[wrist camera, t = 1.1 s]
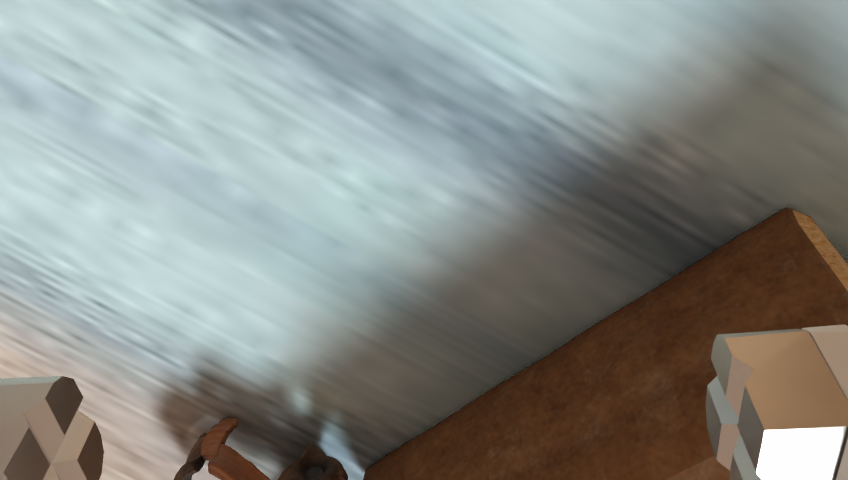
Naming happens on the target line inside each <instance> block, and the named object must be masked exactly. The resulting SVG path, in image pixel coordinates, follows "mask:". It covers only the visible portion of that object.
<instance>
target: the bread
mask: <svg viewBox="0 0 848 480" xmlns="http://www.w3.org/2000/svg"><path fill="white" fill-rule="evenodd" d="M832 325H847V326H848V264H847V263H846V262H845V260H844V259H843V258H842V256H841V255H840V254H839V253H838V251H837V250H836V249H835V247H834V246H833V245H832V244H831V242H830V241H829V240H828V239H827V237H826V236H825V235H824V234H823V232H822V231H821V230H820V229H819V227H818V226H817V225H816V224H815V222H814V221H813V220H812V219H811V217H809V216H807V215H804V214H802V213H799V212H797V211H794V210H792V209H788V208H785V209H783V210H782V211H780V212H778V213H777V214H775V215H773V216H772V217H770V218H768V219H767V220H765V221H763V222H761V223H760V224H758V225H756V226H755V227H753V228H751V229H749V230H748V231H746V232H744V233H742V234H741V235H739V236H738V237H736V238H734V239H733V240H731V241H730V242H728V243H727V244H725V245H723V246H722V247H720V248H719V249H717V250H715V251H714V252H712V253H711V254H709V255H708V256H706V257H704V258H703V259H701V260H700V261H698V262H697V263H695V264H693V265H692V266H690V267H689V268H687V269H686V270H684V271H682V272H681V273H679V274H678V275H676V276H674V277H673V278H671V279H670V280H668V281H666V282H665V283H663V284H662V285H660V286H659V287H657V288H655V289H654V290H652V291H651V292H649V293H647V294H646V295H644V296H642V297H641V298H639V299H637V300H636V301H634V302H632V303H630V304H629V305H627V306H625V307H624V308H622V309H620V310H618V311H617V312H615V313H613V314H612V315H610V316H608V317H607V318H605V319H604V320H602V321H600V322H599V323H597V324H596V325H594V326H593V327H591V328H589V329H588V330H586V331H585V332H583V333H582V334H580V335H578V336H577V337H575V338H574V339H572V340H571V341H569V342H568V343H566V344H565V345H563V346H562V347H560V348H559V349H557V350H556V351H554V352H553V353H551V354H550V355H548V356H547V357H545V358H543V359H541V360H540V361H538V362H536V363H535V364H533V365H531V366H529V367H528V368H526V369H524V370H523V371H521V372H519V373H517V374H516V375H514V376H512V377H511V378H509V379H508V380H506V381H504V382H503V383H501V384H499V385H498V386H496V387H494V388H493V389H491V390H490V391H488V392H486V393H485V394H483V395H482V396H480V397H479V398H477V399H476V400H474V401H473V402H471V403H470V404H468V405H467V406H465V407H464V408H462V409H461V410H459V411H458V412H456V413H455V414H453V415H451V416H450V417H448V418H447V419H445V420H444V421H442V422H441V423H439V424H438V425H436V426H435V427H433V428H431V429H430V430H428V431H426V432H424V433H423V434H421V435H419V436H418V437H416V438H414V439H413V440H411V441H409V442H408V443H406V444H405V445H403V446H401V447H400V448H398V449H397V450H395V451H393V452H392V453H390V454H389V455H387V456H386V457H384V458H383V459H382V460H380V461H379V462H377V463H376V464H374V465H373V466H371V467H370V468H368V469H366V471H365V475H364V479H363V480H729V475H730V470H728V469H727V468H726V467H724V466H723V465H722V464H721V463H719V462H718V461H717V460H716V457H715V454H714V451H713V448H712V445H711V442H710V437H709V433H708V429H707V419H706V395H707V385H708V384H709V383H710V382H711V381H712V380H713V379H714V378H715V377H717V373H716V371H715V368H714V366H713V363H712V360H711V355H712V348H713V343H714V340H715V338H716V336H717V334H731V333H745V332H759V331H773V330H787V329H802V328H807V327H820V326H832Z"/></svg>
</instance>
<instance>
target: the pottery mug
mask: <svg viewBox="0 0 848 480" xmlns="http://www.w3.org/2000/svg"><path fill="white" fill-rule="evenodd" d="M237 426H238V419H236V418H228V419H223V420H221V421H220V422H219V423H218V424H217V425H214V426H213V427H212V429H211V430H210V431H209V432H208V433H204V434H203V435H201V437H200V438H199V439H198V441H197V442H196V443H195V445H194V447H193V448H192V450H191V452H190V454H189V456H188V458H187V461H186V464H184V465H183V466H182V467H181V468H180V470H179V471H178V473H177V474H176V476H175V478H174V480H191V478H192V475H193V474H194V473H197V472H198V471H200V469H201V468H202V467H203V465H204V463H205V461H206V460H209V461H210V460H211V461H210V462H209V463H208V471H209V473H210V474H212V475H214V476H215V477H217V478H219V479H220V480H270V479H269V478H268V477H267V476H266V475H264V474H263V473H262V472H261V471H260V470H258V469H257V468H256V466H255V465H254V464H252V463H251V462H249V461H248V460H246V459H244V458H243V457H242V456H241V455H240V454H239V453H238V452H236V451H235V450H234V449H232V448H231V447H229V446H227V445H225V442H226V439H227V437H228V435H229V434H230V433H231V432H232V431H233V429H235V428H236V427H237ZM278 480H348V475H347V473H346V471H345V470H344V468H343V466H342V464H341V463H340V462H339V461H338V460H337V459H335V458H333V457H330V456H326V455H325V453H324V452H323V451H322V450H321V449H320V448H318V447H317V446H315V445H313V444H309V445H308V446H307V448H306V450H305V451H304V453H303V454H302V456H301V457H300V458H299V460H297V461H295V462H294V463H293V465H292V466H289V467H288V468H287V469H285V470H284V471H283V473H282V474H281V476H280V478H279V479H278Z"/></svg>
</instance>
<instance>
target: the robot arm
mask: <svg viewBox="0 0 848 480" xmlns="http://www.w3.org/2000/svg"><path fill="white" fill-rule="evenodd" d="M711 360H712V363H713V366H714V368H715V371H716V373H717V377H715V378H714V379H713V380H712V381H711V382H710V383H709V384H708V385H707V395H706V419H707V429H708V433H709V437H710V442H711V445H712V448H713V451H714V454H715V457H716V460H717V461H718V462H719V463H721V464H722V465H723V466H724V467H726V468H727V469H728V470H730V475H729V480H848V326H847V325H832V326H820V327H807V328H802V329H787V330H773V331H759V332H745V333H731V334H717V336H716V338H715V340H714V343H713V348H712V355H711ZM82 399H83V396H82V394H81V392H80V390H79V389H78V387H77V385H76V383H75V381H74V379H71V378H68V377H64V376H56V377H31V378H5V379H0V480H99V478H100V476H101V472H102V463H103V454H104V450H103V445H102V439H101V434H100V432H99V430H98V428H97V426H96V423H95V421H93V420H92V419H90V418H89V417H87V416H86V415H84V414H83V413H81V412H80V411H78V408H79V406H80V403H81V401H82Z"/></svg>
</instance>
